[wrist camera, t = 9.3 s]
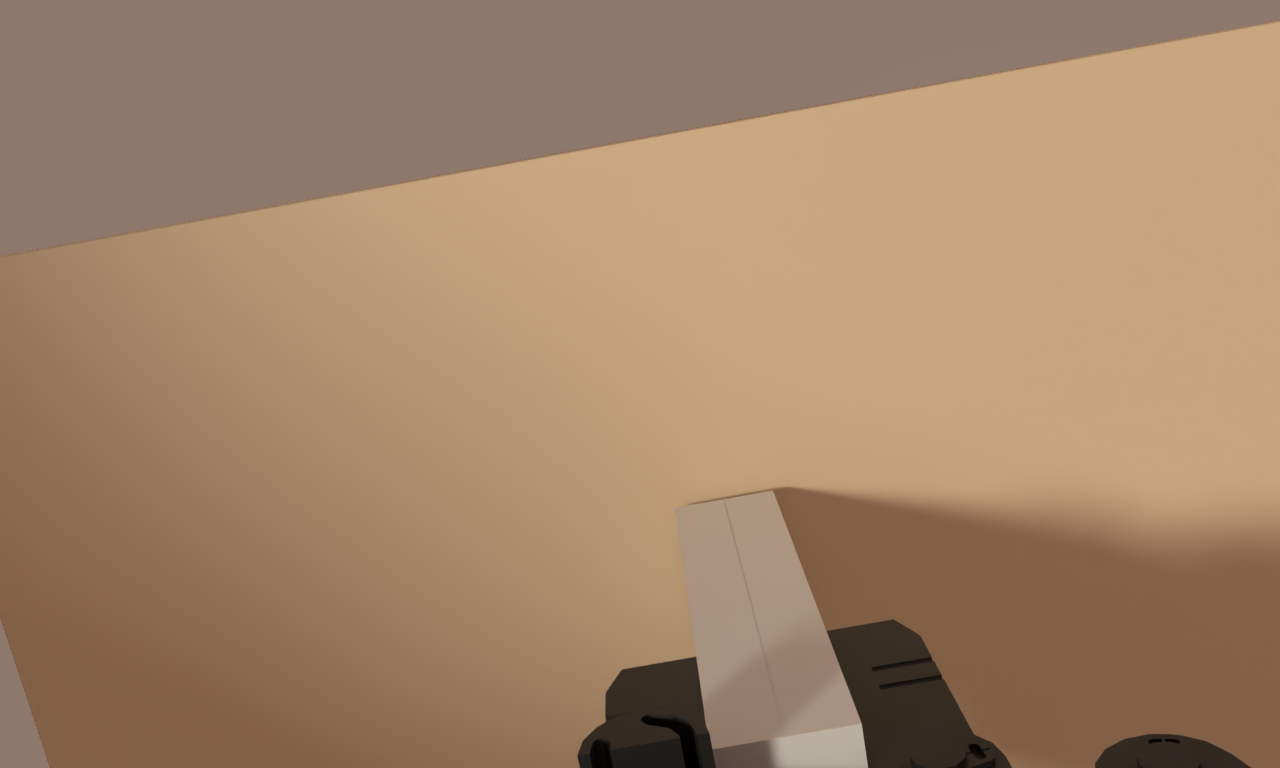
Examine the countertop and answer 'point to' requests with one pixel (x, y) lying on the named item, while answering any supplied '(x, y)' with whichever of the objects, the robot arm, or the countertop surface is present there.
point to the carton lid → (672, 427)
